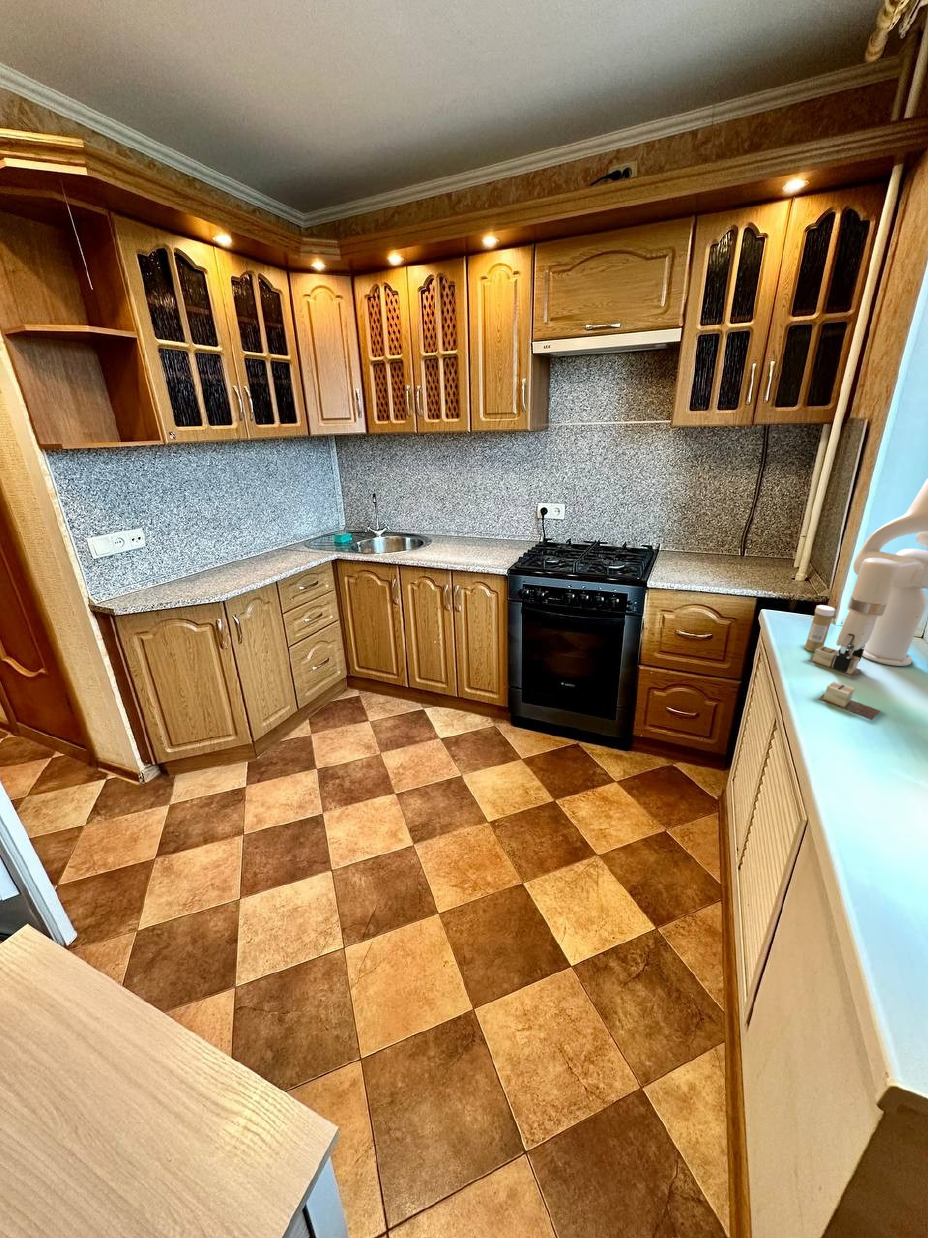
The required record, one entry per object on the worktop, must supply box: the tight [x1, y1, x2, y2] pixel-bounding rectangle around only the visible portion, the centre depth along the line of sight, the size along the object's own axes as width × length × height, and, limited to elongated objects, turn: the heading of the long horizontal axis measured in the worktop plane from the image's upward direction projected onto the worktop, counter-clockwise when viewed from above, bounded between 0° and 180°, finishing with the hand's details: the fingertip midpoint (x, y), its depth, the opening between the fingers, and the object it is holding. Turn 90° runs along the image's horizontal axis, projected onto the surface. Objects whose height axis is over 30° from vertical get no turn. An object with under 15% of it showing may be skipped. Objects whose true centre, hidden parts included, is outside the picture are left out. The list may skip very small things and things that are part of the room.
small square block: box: [832, 655, 861, 674], centre depth 137 cm, size 4×4×4 cm
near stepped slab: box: [817, 681, 881, 721], centre depth 120 cm, size 6×11×4 cm, turn 38°
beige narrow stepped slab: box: [807, 645, 862, 677], centre depth 139 cm, size 6×11×4 cm, turn 38°
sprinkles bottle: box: [804, 604, 836, 653], centre depth 148 cm, size 5×5×14 cm
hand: (846, 664), depth 138 cm, fingers open, 9 cm apart
